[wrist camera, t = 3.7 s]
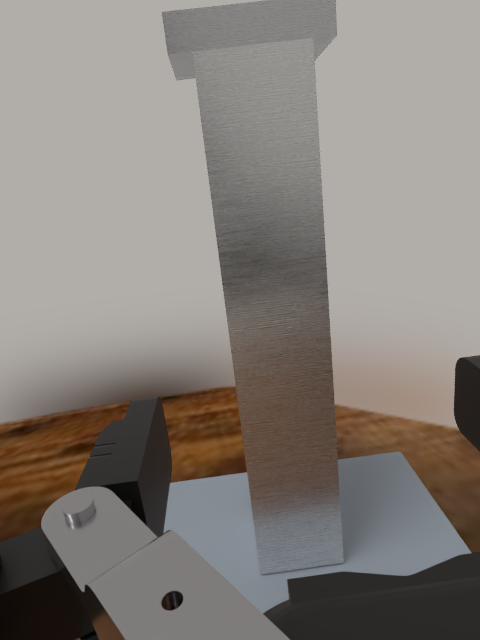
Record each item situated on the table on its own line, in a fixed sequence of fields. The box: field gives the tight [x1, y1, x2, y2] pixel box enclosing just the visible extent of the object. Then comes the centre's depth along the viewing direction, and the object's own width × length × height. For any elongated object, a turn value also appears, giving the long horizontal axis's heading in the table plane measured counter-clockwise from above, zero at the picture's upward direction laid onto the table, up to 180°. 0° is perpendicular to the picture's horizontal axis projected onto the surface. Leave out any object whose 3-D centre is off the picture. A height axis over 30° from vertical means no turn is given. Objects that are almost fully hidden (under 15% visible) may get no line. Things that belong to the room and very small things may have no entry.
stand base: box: [163, 451, 471, 614], centre depth 23 cm, size 16×12×10 cm
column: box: [162, 0, 344, 575], centre depth 20 cm, size 6×5×23 cm
